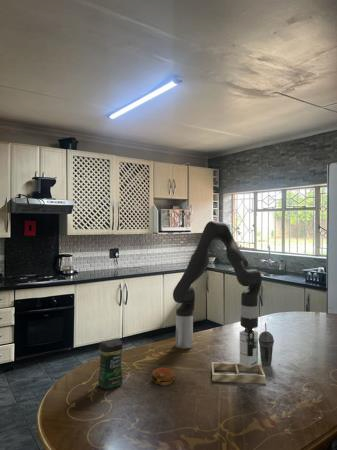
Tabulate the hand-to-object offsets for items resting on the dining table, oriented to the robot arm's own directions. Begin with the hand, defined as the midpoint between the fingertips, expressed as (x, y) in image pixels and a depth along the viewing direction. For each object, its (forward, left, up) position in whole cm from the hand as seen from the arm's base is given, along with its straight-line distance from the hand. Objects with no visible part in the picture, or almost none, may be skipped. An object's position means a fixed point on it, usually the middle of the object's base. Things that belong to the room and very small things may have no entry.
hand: (248, 352), depth 152 cm
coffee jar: (-58, -14, -11) cm, 61 cm away
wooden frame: (-5, 0, -10) cm, 12 cm away
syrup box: (0, 0, -5) cm, 6 cm away
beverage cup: (+10, +14, -11) cm, 20 cm away
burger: (-37, -8, -11) cm, 39 cm away
